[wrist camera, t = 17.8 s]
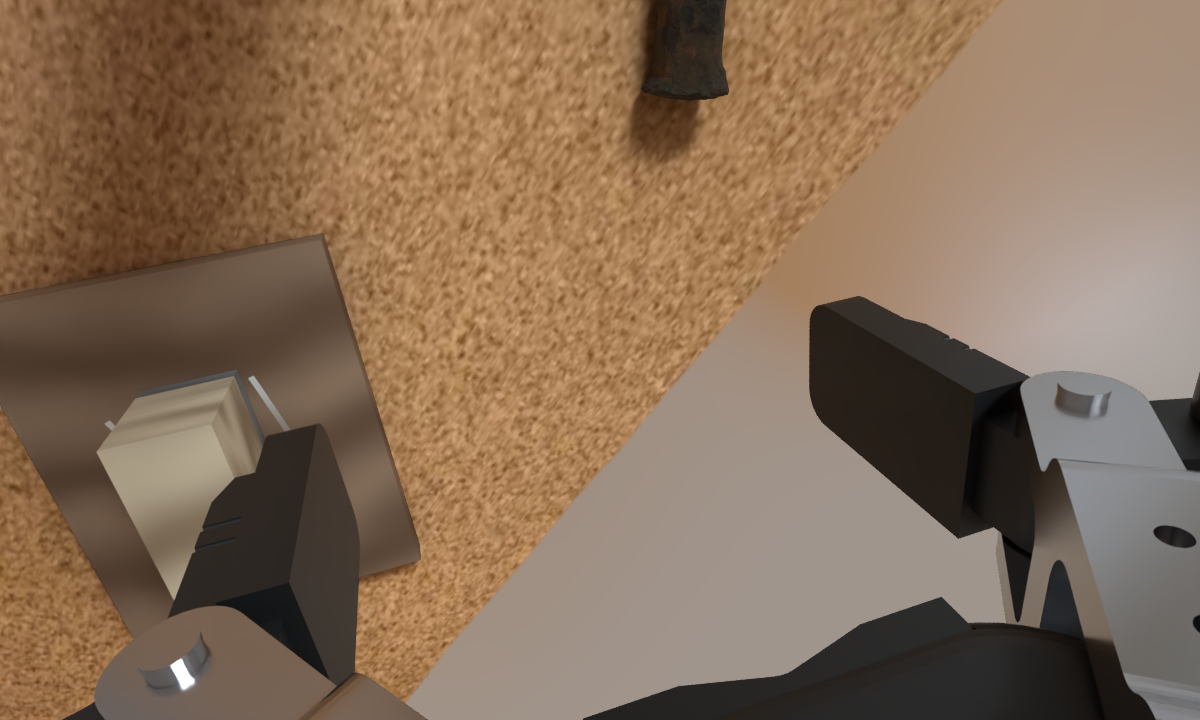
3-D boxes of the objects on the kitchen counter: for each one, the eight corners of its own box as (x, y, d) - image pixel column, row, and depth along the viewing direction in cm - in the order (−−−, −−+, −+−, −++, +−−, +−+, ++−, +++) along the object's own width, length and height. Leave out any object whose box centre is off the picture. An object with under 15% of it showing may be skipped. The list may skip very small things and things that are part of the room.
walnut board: (-35, 302, 32) (-53, 313, 31) (323, 233, 35) (320, 240, 34) (143, 623, 41) (135, 642, 40) (419, 544, 44) (420, 560, 43)
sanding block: (140, 391, 35) (96, 452, 29) (237, 369, 35) (211, 424, 30) (208, 536, 38) (180, 613, 33) (294, 513, 39) (280, 584, 34)
